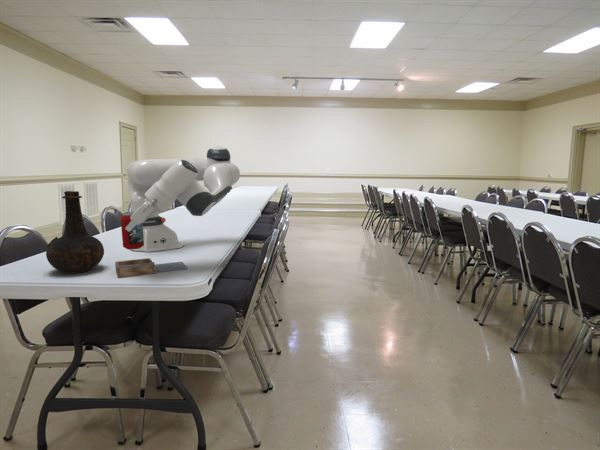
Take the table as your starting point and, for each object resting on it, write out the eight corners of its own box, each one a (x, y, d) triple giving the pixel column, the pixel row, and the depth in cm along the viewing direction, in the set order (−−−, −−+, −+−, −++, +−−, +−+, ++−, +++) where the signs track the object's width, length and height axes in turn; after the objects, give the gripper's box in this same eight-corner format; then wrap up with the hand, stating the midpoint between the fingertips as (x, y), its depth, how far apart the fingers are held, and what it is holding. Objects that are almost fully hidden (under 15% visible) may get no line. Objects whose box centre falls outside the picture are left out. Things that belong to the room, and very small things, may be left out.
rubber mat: (182, 263, 153) (181, 261, 152) (187, 268, 144) (187, 267, 144) (154, 266, 148) (154, 264, 148) (158, 272, 139) (158, 270, 139)
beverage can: (137, 250, 136) (134, 215, 134) (118, 249, 137) (115, 214, 135) (148, 245, 142) (145, 212, 140) (130, 245, 144) (128, 211, 141)
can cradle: (150, 266, 148) (149, 256, 148) (154, 273, 138) (154, 262, 137) (115, 269, 143) (114, 259, 142) (117, 277, 133) (116, 266, 132)
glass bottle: (58, 265, 150) (51, 190, 146) (110, 262, 154) (104, 189, 150) (39, 278, 132) (30, 193, 128) (98, 275, 136) (91, 192, 132)
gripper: (160, 208, 129) (130, 239, 129) (169, 202, 149) (143, 229, 149) (145, 194, 128) (114, 226, 127) (156, 190, 148) (129, 218, 147)
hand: (130, 228), depth 138 cm, fingers closed on beverage can, 7 cm apart
